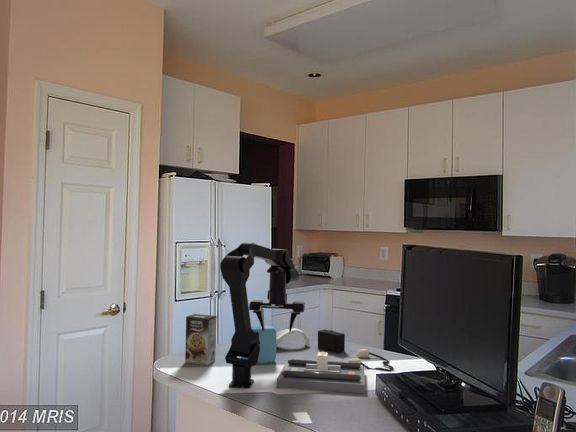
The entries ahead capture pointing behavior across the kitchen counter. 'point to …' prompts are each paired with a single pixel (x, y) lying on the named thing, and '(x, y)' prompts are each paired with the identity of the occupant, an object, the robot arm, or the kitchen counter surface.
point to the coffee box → (200, 339)
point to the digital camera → (331, 341)
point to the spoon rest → (284, 333)
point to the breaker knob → (322, 361)
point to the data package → (266, 344)
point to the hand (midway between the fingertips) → (276, 331)
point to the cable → (365, 354)
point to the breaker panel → (322, 381)
